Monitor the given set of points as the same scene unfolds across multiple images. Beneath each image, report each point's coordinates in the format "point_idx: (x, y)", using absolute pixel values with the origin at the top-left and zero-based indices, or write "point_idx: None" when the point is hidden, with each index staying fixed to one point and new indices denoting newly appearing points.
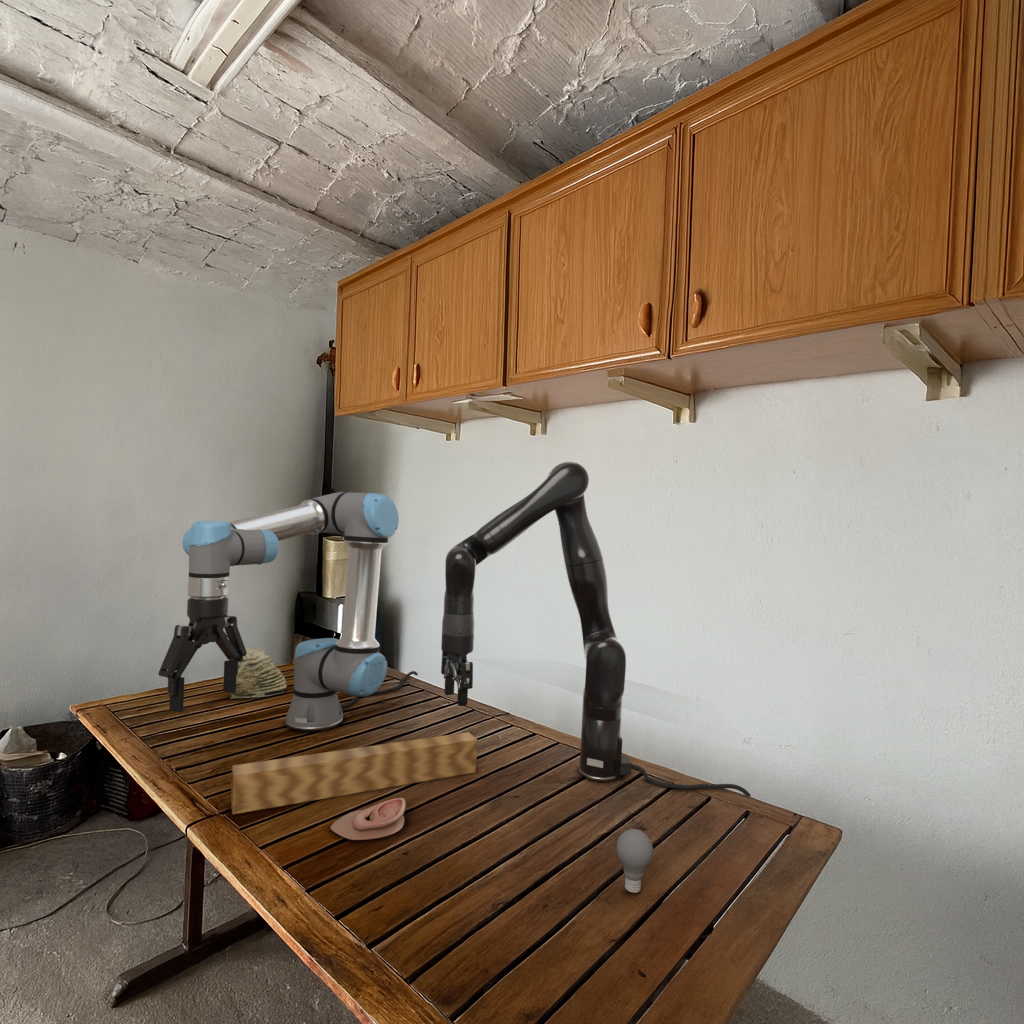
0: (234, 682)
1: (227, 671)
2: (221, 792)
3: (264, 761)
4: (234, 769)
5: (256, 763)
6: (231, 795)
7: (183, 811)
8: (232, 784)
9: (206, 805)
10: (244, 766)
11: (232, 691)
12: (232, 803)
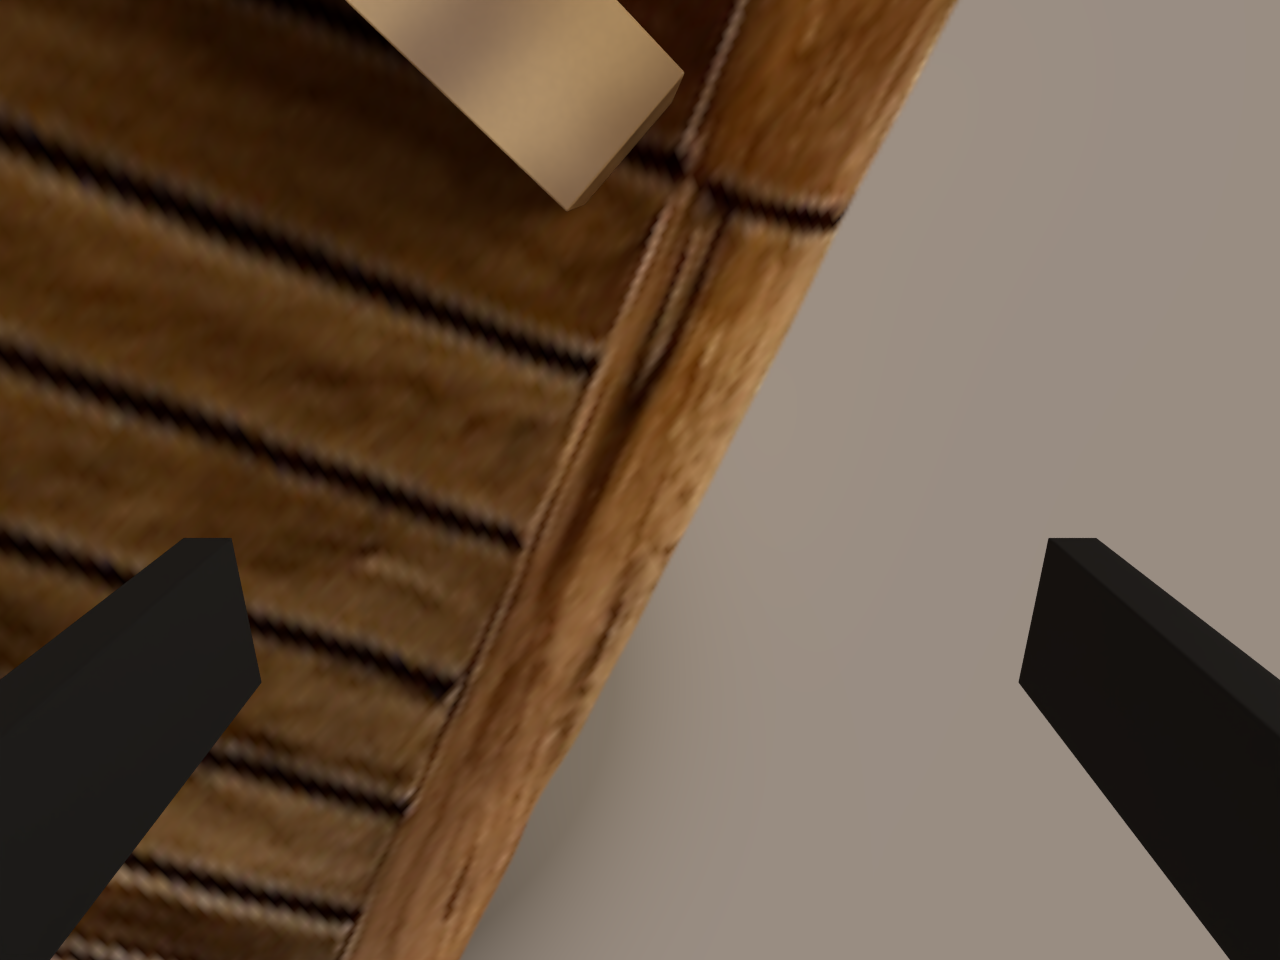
0: (123, 613)
1: (62, 850)
2: (516, 340)
3: (404, 39)
4: (608, 145)
5: (460, 71)
6: (604, 178)
7: (738, 353)
8: (633, 139)
9: (650, 302)
10: (541, 114)
11: (221, 559)
12: (667, 104)
